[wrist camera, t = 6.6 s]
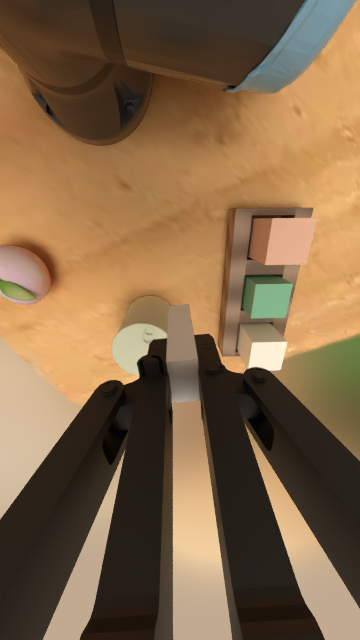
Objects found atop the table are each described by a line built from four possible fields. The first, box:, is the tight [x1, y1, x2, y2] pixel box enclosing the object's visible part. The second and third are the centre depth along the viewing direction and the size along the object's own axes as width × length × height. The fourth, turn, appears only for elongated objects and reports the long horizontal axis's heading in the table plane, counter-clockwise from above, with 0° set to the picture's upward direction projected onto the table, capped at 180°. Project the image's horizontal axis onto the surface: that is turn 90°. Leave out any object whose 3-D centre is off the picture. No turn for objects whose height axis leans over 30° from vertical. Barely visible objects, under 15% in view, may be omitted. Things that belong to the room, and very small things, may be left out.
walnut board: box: [218, 208, 313, 356], centre depth 37 cm, size 25×11×4 cm, turn 0°
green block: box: [241, 274, 293, 319], centre depth 35 cm, size 5×5×7 cm
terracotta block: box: [248, 218, 318, 265], centre depth 29 cm, size 5×5×7 cm
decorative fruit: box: [0, 245, 51, 305], centre depth 31 cm, size 9×8×10 cm
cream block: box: [236, 322, 287, 370], centre depth 36 cm, size 5×5×7 cm
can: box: [112, 296, 170, 376], centre depth 35 cm, size 9×9×12 cm
